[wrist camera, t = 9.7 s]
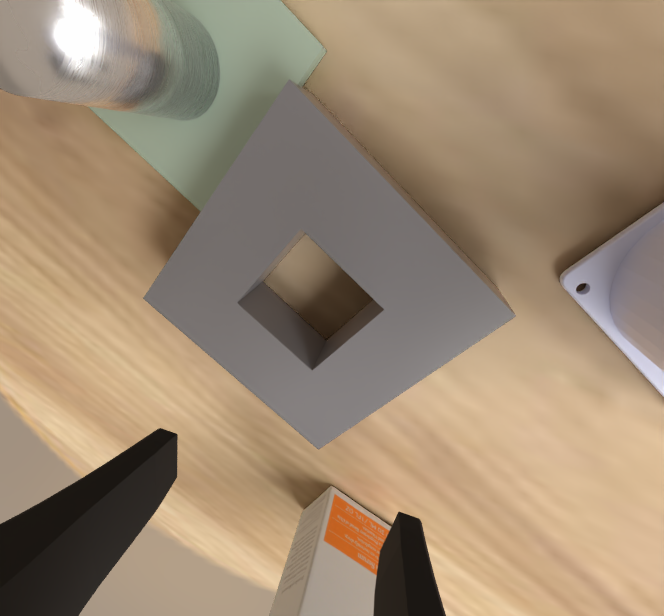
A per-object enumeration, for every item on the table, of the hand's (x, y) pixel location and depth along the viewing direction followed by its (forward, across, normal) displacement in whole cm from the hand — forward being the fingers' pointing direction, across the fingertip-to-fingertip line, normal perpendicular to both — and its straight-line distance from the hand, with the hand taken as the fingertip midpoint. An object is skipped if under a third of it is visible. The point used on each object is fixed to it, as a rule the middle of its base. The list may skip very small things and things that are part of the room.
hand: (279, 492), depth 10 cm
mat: (+9, +10, -11) cm, 18 cm away
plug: (+9, +10, -11) cm, 17 cm away
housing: (+9, +2, -3) cm, 10 cm away
